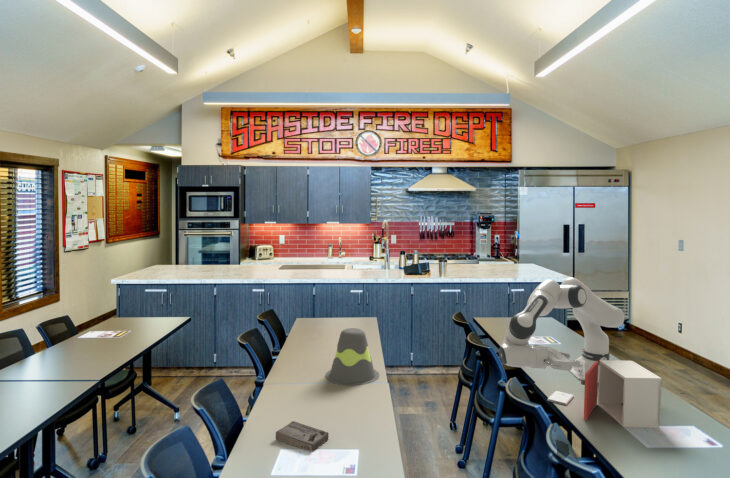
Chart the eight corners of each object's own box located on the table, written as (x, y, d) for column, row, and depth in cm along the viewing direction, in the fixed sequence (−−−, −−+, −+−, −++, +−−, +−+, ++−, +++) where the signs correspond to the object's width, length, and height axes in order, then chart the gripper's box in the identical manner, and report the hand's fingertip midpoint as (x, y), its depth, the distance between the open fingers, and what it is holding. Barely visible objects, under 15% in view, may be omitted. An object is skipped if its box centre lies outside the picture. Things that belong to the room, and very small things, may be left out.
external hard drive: (547, 402, 212) (555, 393, 222) (566, 406, 207) (573, 398, 217) (547, 398, 212) (555, 390, 222) (566, 403, 207) (573, 394, 217)
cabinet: (598, 404, 209) (599, 360, 208) (630, 404, 208) (631, 360, 207) (623, 427, 187) (625, 377, 186) (659, 427, 186) (661, 378, 185)
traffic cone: (390, 378, 241) (390, 331, 239) (343, 389, 225) (343, 340, 223) (360, 363, 263) (360, 321, 262) (315, 373, 248) (315, 328, 246)
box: (292, 427, 184) (292, 420, 184) (329, 439, 176) (329, 431, 176) (274, 440, 175) (274, 432, 175) (312, 453, 167) (312, 444, 166)
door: (590, 401, 210) (592, 360, 209) (596, 403, 209) (598, 361, 208) (579, 418, 194) (580, 372, 192) (586, 419, 192) (587, 374, 191)
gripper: (550, 357, 182) (585, 359, 182) (532, 343, 203) (564, 345, 202) (548, 373, 183) (584, 375, 182) (531, 357, 203) (563, 359, 203)
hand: (574, 359), depth 193 cm, fingers open, 8 cm apart
